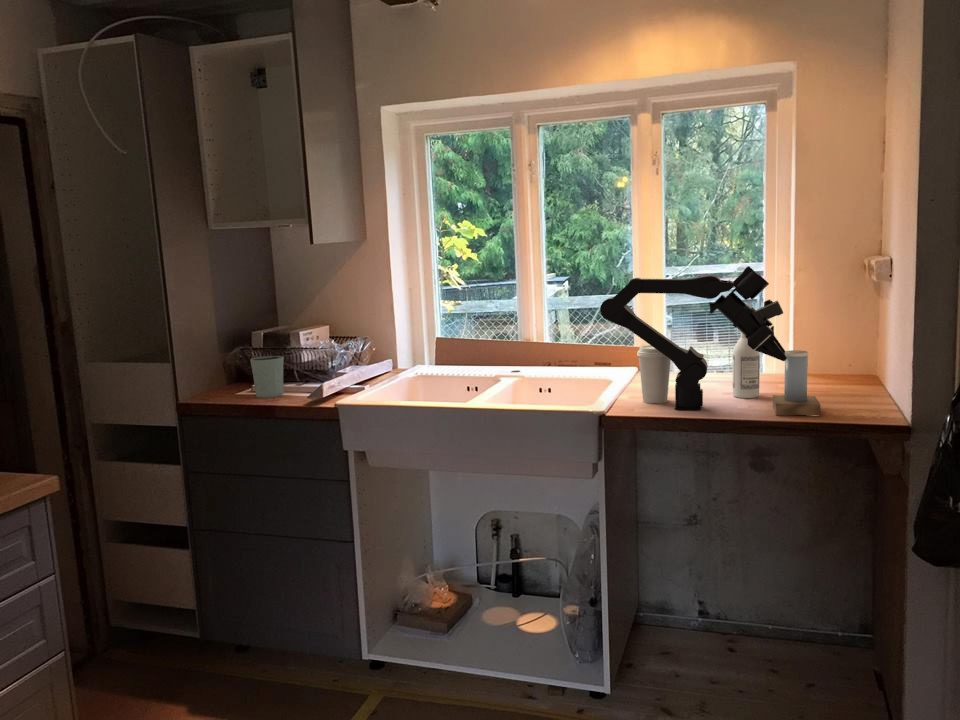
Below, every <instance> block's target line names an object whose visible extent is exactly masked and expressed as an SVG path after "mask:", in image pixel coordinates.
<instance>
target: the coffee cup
mask: <svg viewBox="0 0 960 720" xmlns="http://www.w3.org/2000/svg"><path fill="white" fill-rule="evenodd" d="M636 355H637V356H638V363H639V364H638V365H639V374H640V375H639V376H640V383H641V393H642V401H643V403H645V402H646V404H653V403H658V404H664V403H667V402H668V397H669V396H668V395H669V384H670V371H671V362H672V361H671V360H670V359H669V358H668V357H666V356H665V355H664V354H662V353H661V352H659V351H658V350H657V349H655V348H654V347H652V346H651V345H650V344H647V345H642V346H639V349H638V350H637V352H636Z"/></svg>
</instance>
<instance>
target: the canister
mask: <svg viewBox="0 0 960 720" xmlns="http://www.w3.org/2000/svg"><path fill="white" fill-rule="evenodd" d="M785 356H786V357H787V359H786V360H785V361H784V393H783V394H784V400H786V401H791V402H804V401H807V396H808V370H809V369H808V362H809V361H808V359H809V358H808V357H809V351H807V350H785Z"/></svg>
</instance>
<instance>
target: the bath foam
mask: <svg viewBox="0 0 960 720" xmlns="http://www.w3.org/2000/svg"><path fill="white" fill-rule="evenodd" d="M760 354H761V352H758V351H755V349H754V350H753V349H752V348H751V347H749V346H748V339H747V338H746V337H745V335H744V334H743V333H742V332H741V331H740V338H738V340H737V342H736V344H735V345H734V347H733V351H732V396H733V397H735V398H738V399H754V398H758V397H759V396H760V373H761V371H760V369H761V368H760V367H761V365H760V362H761V361H760V359H761V355H760Z"/></svg>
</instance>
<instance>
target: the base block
mask: <svg viewBox="0 0 960 720" xmlns="http://www.w3.org/2000/svg"><path fill="white" fill-rule="evenodd" d="M772 409H773V411H774V414H776V415H807V416H806V417H812V416H811V415H820V416H821V403H820V402H819V400H818V398H817V397H816V396H815V395H807V401H804V402H791V401H786V400H784V395H777V394H776V395H775V394H774V395H772ZM776 415H775V416H776Z"/></svg>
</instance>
